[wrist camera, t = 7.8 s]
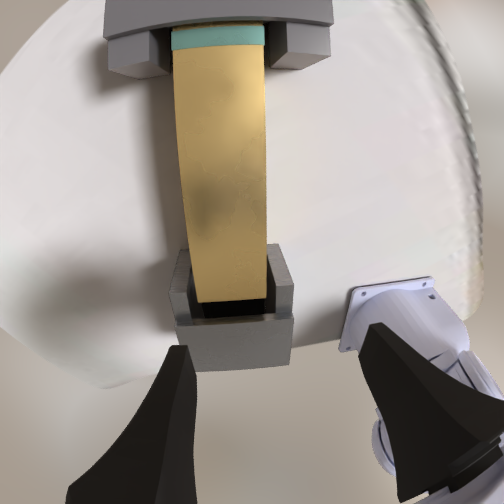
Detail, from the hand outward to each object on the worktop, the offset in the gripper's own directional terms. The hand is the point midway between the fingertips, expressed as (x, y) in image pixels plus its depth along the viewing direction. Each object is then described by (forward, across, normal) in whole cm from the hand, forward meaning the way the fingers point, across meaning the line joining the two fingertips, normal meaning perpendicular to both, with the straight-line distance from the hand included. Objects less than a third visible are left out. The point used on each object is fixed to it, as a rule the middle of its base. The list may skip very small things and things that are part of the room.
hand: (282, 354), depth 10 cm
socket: (+10, +2, -13) cm, 17 cm away
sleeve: (+10, +2, +4) cm, 11 cm away
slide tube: (+10, +2, -6) cm, 12 cm away
